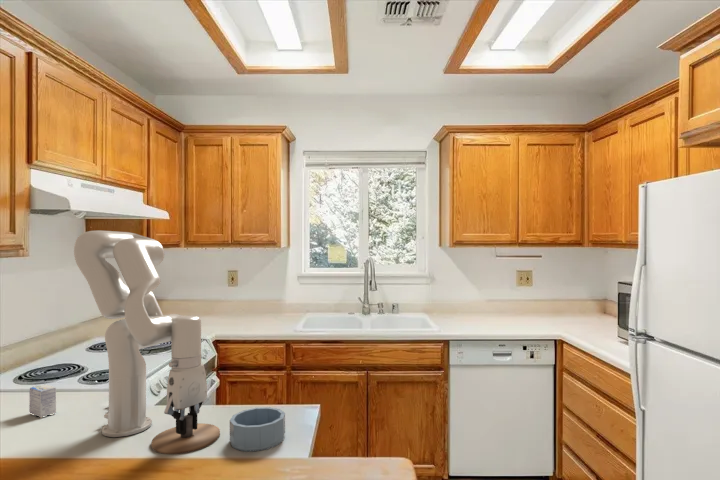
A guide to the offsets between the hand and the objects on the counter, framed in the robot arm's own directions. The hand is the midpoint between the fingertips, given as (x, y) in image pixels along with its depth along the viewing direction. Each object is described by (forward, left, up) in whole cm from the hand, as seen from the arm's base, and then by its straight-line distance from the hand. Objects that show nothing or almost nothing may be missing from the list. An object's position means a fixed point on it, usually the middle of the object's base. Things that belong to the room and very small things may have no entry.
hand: (186, 430), depth 112 cm
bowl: (+18, +8, -2) cm, 20 cm away
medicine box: (-59, -6, -3) cm, 60 cm away
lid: (0, 0, -2) cm, 2 cm away
